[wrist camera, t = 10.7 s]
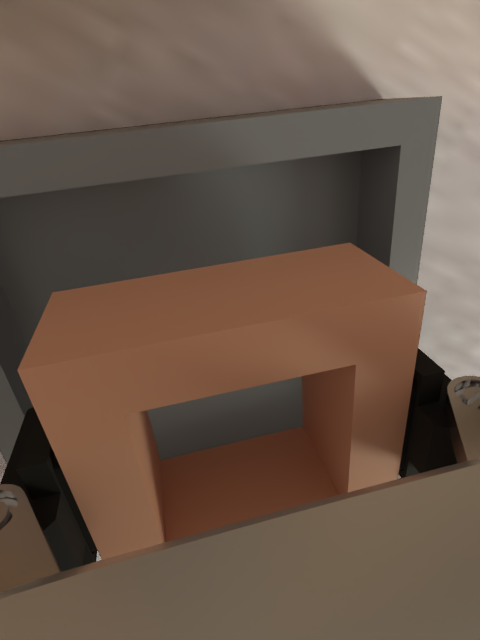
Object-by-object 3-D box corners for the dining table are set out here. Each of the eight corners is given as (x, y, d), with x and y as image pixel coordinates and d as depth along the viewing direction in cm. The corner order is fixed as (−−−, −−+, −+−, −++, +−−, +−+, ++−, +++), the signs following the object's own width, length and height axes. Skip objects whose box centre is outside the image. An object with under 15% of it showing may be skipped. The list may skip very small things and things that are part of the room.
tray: (66, 494, 16) (56, 555, 14) (-90, 150, 10) (-153, 162, 8) (360, 421, 18) (392, 464, 16) (384, 98, 12) (442, 96, 10)
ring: (52, 292, 9) (17, 370, 6) (350, 242, 10) (426, 291, 7) (125, 500, 12) (122, 606, 10) (340, 446, 13) (390, 528, 11)
